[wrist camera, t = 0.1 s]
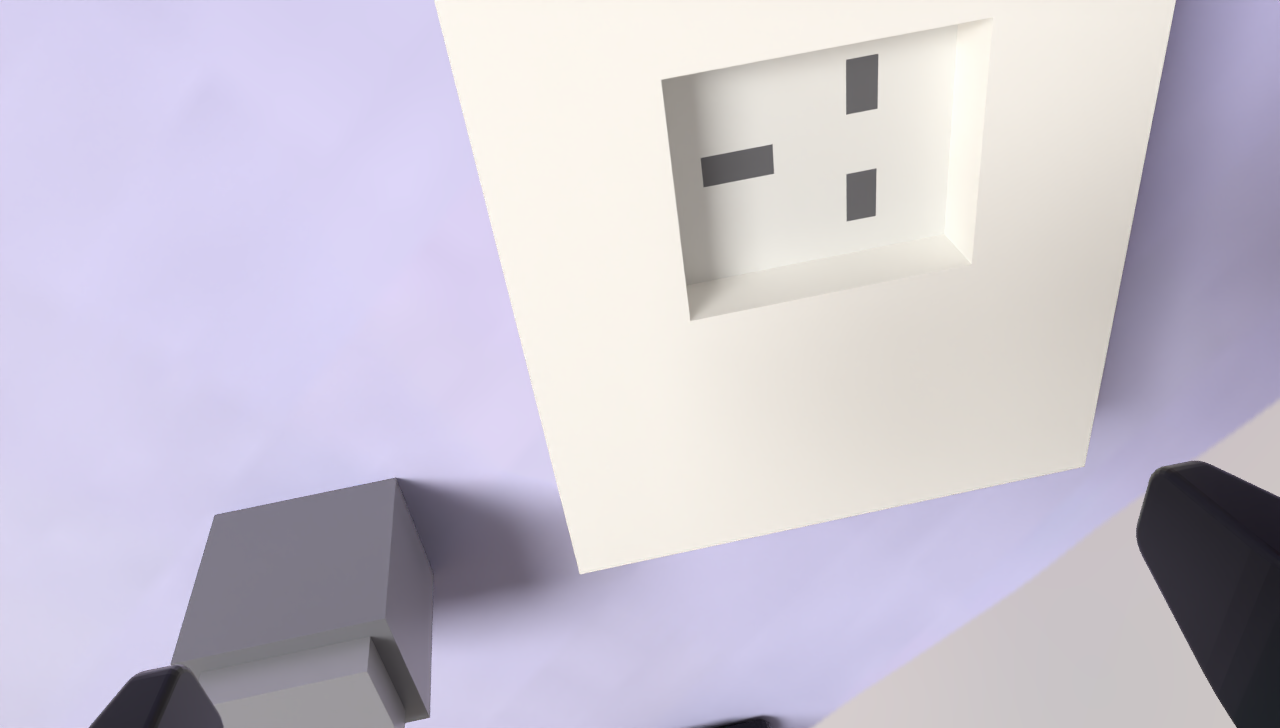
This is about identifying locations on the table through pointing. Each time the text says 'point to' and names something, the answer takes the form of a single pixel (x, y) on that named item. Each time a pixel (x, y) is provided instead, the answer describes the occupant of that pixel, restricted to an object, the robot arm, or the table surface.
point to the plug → (314, 613)
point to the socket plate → (805, 245)
